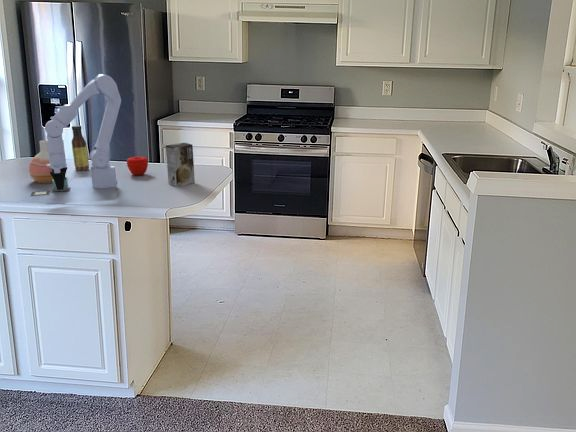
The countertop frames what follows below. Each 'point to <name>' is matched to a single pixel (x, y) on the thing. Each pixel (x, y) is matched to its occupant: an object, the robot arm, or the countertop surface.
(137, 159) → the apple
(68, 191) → the stand
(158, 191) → the countertop surface
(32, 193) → the stand
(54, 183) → the housing
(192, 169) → the coffee box
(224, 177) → the countertop surface
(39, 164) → the vase
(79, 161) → the sauce bottle
